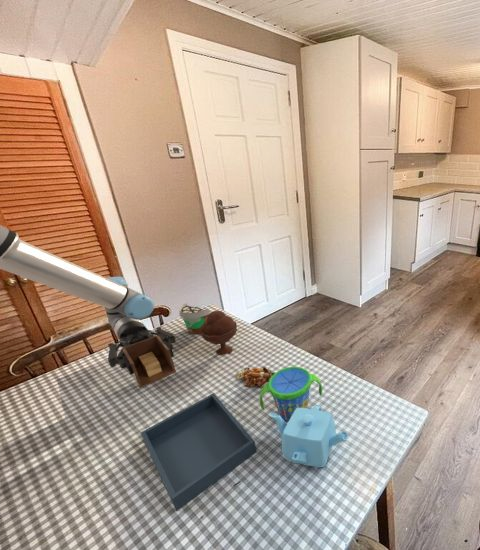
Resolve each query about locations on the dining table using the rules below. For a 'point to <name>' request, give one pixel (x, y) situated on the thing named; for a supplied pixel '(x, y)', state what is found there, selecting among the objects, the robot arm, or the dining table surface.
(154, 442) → the tray
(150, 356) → the block
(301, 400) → the snack cup
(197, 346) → the dining table surface
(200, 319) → the food container
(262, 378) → the pastry
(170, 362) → the brown open box
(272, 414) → the teapot
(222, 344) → the ice cream bowl
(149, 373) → the block
